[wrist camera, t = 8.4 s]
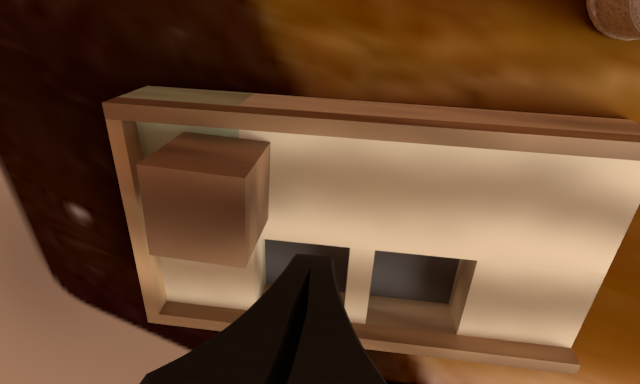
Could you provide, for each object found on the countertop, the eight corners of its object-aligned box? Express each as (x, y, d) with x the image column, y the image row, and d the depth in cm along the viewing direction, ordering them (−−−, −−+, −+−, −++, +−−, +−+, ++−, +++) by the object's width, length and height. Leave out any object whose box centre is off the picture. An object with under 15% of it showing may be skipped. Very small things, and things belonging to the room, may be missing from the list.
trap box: (545, 320, 26) (576, 374, 22) (177, 279, 28) (148, 322, 24) (629, 119, 20) (691, 146, 16) (147, 85, 22) (101, 102, 18)
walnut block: (268, 218, 21) (245, 268, 17) (190, 208, 21) (149, 254, 17) (270, 142, 19) (244, 178, 15) (184, 131, 19) (136, 164, 15)
